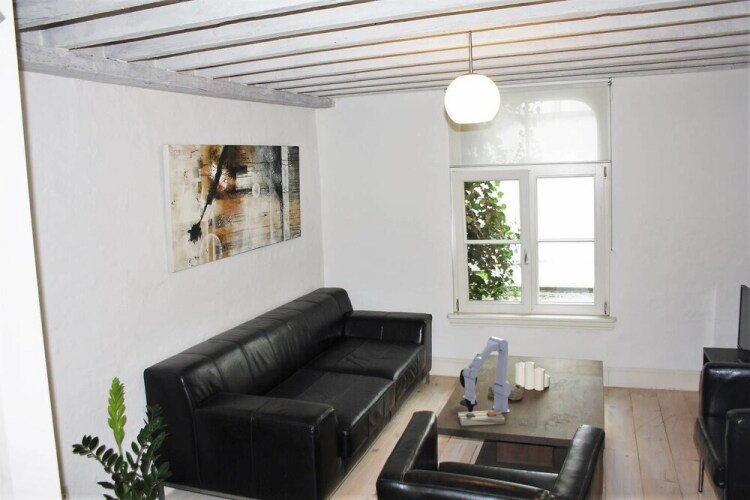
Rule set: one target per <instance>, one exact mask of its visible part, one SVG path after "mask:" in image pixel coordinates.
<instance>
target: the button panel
mask: <svg viewBox="0 0 750 500" xmlns="http://www.w3.org/2000/svg"><path fill="white" fill-rule="evenodd" d="M493 410H494V409H493ZM494 411H495V416H492V417H488V410H477V411H474V410H473V412H469V411H458V412H457V418H459V419H458V421H459V420H460V421H459V423H460V425H461V426H480V425H481V426H483V425H500V424H501V425H502V424H505V423H506V420H505V416H504V415H503V414H502V413H501V412H500V410H494ZM468 413H472V414H474V417H471V418H467V414H468Z"/></svg>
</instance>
